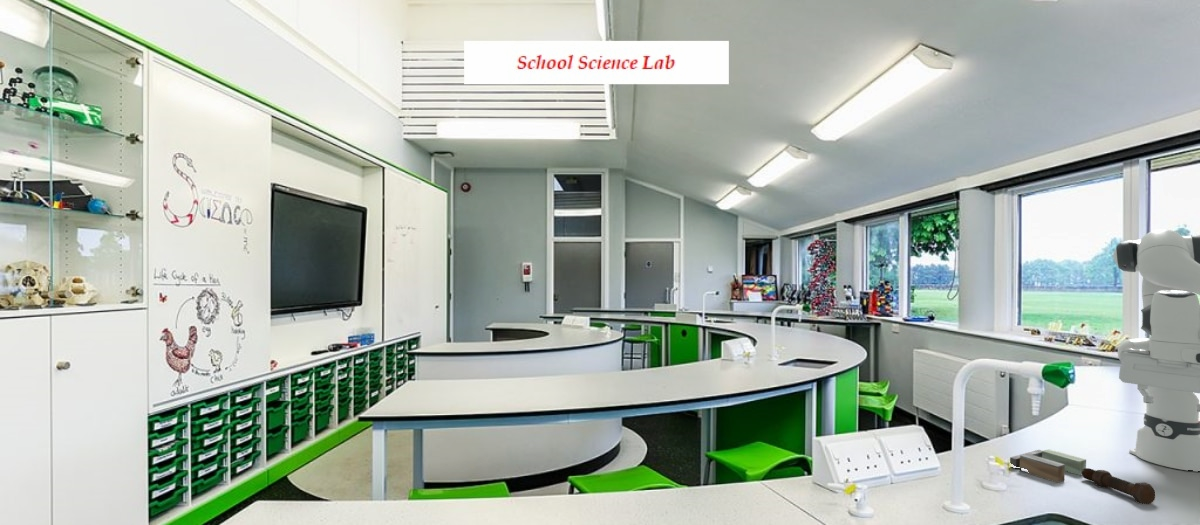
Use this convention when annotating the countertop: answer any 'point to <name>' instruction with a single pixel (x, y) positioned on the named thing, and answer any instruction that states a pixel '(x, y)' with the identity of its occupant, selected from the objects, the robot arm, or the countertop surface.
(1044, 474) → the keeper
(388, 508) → the countertop surface
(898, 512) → the countertop surface
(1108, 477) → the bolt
